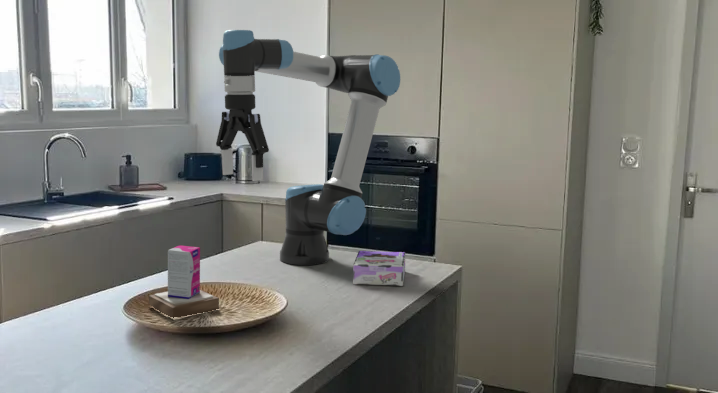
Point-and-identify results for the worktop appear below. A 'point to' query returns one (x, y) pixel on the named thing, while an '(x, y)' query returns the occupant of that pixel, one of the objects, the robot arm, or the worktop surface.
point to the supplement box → (183, 272)
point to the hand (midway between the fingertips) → (242, 177)
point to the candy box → (379, 268)
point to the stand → (184, 304)
